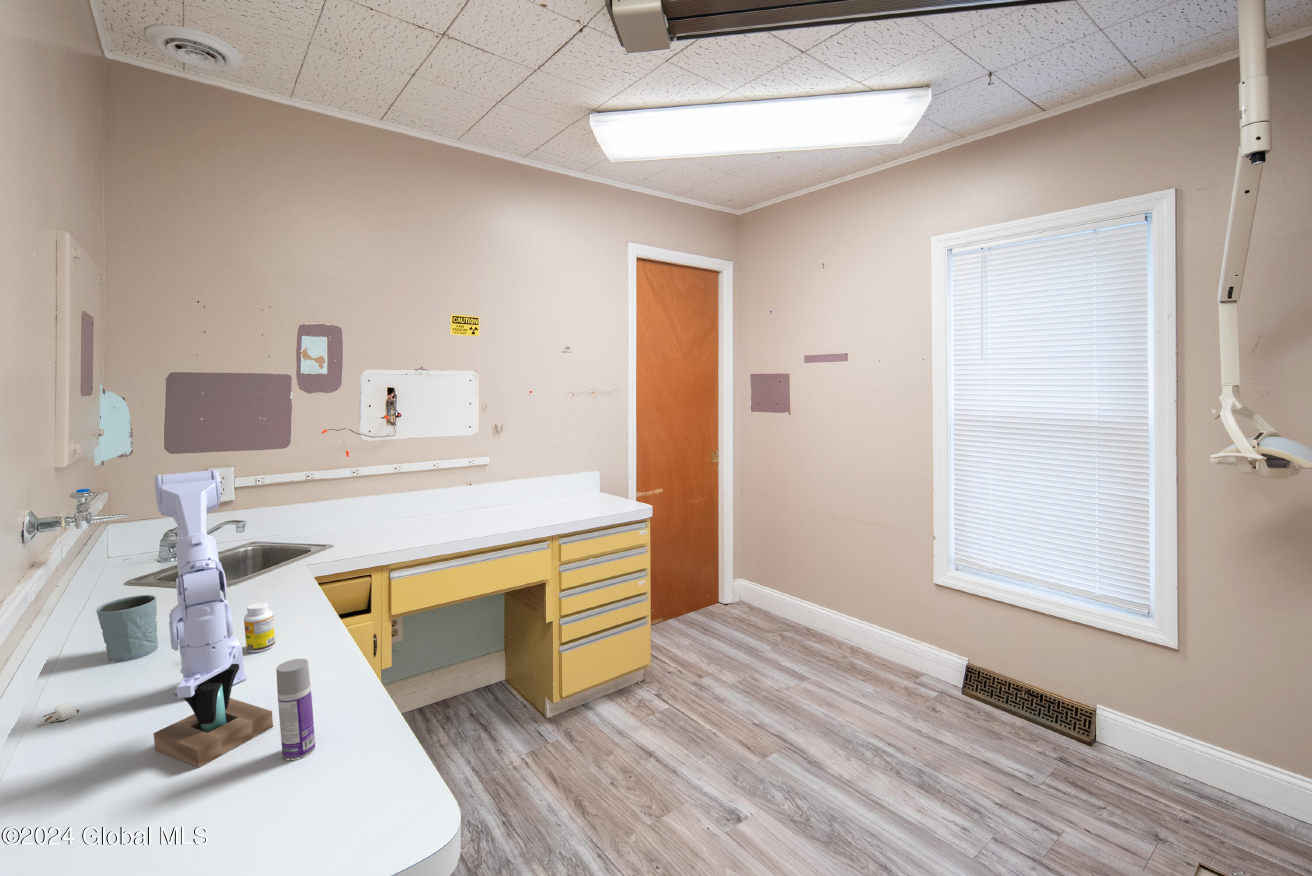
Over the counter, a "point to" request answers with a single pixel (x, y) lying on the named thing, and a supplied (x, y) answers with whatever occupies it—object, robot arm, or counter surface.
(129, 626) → the green plant pot
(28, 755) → the counter surface
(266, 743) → the counter surface
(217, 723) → the peg
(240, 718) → the socket block
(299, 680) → the container
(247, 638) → the supplement bottle
